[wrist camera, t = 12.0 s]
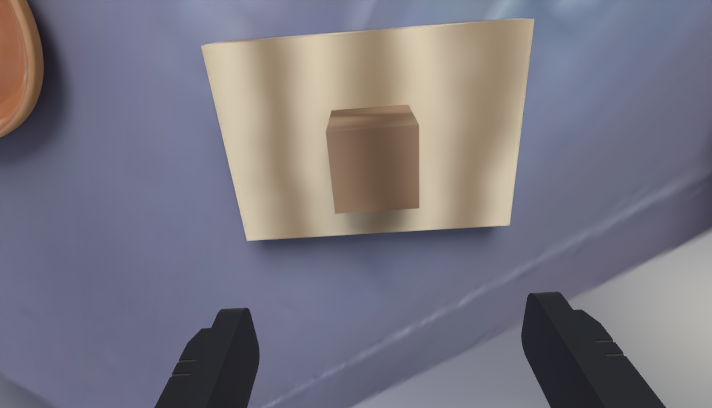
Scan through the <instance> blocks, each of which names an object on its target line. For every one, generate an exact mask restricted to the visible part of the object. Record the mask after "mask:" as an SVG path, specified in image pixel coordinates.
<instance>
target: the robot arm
mask: <svg viewBox="0 0 712 408" xmlns="http://www.w3.org/2000/svg"><path fill="white" fill-rule="evenodd" d="M521 338H522V345H523V350H524V353H525V355H526V358H527V360H528V362H529V364H530V366H531V368H532V370H533V372H534V374H535V376H536V378H537V380H538V382H539V384H540V386H541V388H542V390H543V393H544V395H545V397H546V399H547V401H548V403H549V405H550V407H551V408H666V407H665V406H664V405H663V403H662V402H661V401H660V399H659V398H658V397H657V396H656V394H655V393H654V392H653V390H652V389H651V388H650V387H649V385H648V384H647V383H646V381H645V380H644V379H643V378H642V377H641V375H640V374H639V372H638V371H637V370H636V369H635V367H634V366H633V365H632V363H631V362H630V361H629V360H628V358H627V357H626V356H624V355H623V352H622V350H621V349H620V348H619V347H618V345H617V344H616V343H614V342H613V339H612V338H611V336H610V335H609V334H608V333H607V331H606V330H605V329H604V327H603V326H602V325H601V323H599V322H598V321H596V320H595V319H594V318H592V317H591V316H590V315H588V314H587V313H586V312H584V311H583V310H573V309H572V308H571V307H570V305H569V304H568V302H567V301H566V299H565V298H564V297H563V295H562V294H561V293H559V292H544V293H530V294H529V295H528V297H527V302H526V309H525V315H524V321H523V327H522V335H521ZM258 365H259V345H258V341H257V337H256V333H255V329H254V325H253V321H252V317H251V314H250V311H249V309H248V308H233V309H221V310H220V311H219V312H218V314H217V316H216V319H215V321H214V323H213V325H212V327H211V328H205V329H201V330H200V331H199V332H198V333H197V334H196V335H195V336H194V337H193V338H192V339H191V340H190V341H189V342H188V343H187V345H186V347H185V349H184V351H183V353H182V355H181V357H180V359H179V363H177V365H176V367H175V369H174V371H173V373H172V377H170V379H169V380H168V382H167V384H166V386H165V388H164V390H163V392H162V394H161V396H160V398H159V400H158V402H157V404H156V406H155V408H247V406H248V402H249V399H250V395H251V391H252V388H253V384H254V380H255V377H256V373H257V370H258Z"/></svg>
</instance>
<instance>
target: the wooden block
mask: <svg viewBox="0 0 712 408" xmlns="http://www.w3.org/2000/svg"><path fill="white" fill-rule="evenodd" d="M533 27H534V19H522V18H513V19H500V20H488V21H476V22H463V23H451V24H438V25H426V26H413V27H401V28H388V29H376V30H363V31H351V32H338V33H326V34H313V35H301V36H289V37H276V38H264V39H251V40H239V41H226V42H216V43H211V44H207V45H202V46H201V48H202V52H203V56H204V60H205V64H206V69H207V73H208V77H209V81H210V86H211V90H212V94H213V98H214V103H215V107H216V111H217V115H218V120H219V124H220V128H221V132H222V137H223V141H224V145H225V149H226V154H227V158H228V162H229V166H230V171H231V175H232V179H233V183H234V188H235V192H236V196H237V200H238V204H239V209H240V213H241V217H242V221H243V226H244V230H245V234H246V238H247V241H252V240H269V239H286V238H303V237H320V236H336V235H353V234H370V233H387V232H404V231H420V230H437V229H454V228H471V227H488V226H505V225H509V224H510V216H511V208H512V200H513V192H514V183H515V175H516V167H517V159H518V150H519V142H520V134H521V126H522V118H523V109H524V101H525V93H526V85H527V76H528V68H529V60H530V52H531V43H532V35H533ZM396 105H409V107H410V109H411V111H412V112H413V114H414V116H415V118H416V120H417V122H418V124H419V208H416V209H400V210H385V211H369V212H354V213H338V214H335V209H334V200H333V192H332V183H331V174H330V165H329V156H328V148H327V139H326V129H327V125H328V122H329V118H330V114H331V111H332V110H343V109H356V108H370V107H383V106H396Z"/></svg>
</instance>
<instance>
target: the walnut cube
mask: <svg viewBox="0 0 712 408" xmlns="http://www.w3.org/2000/svg"><path fill="white" fill-rule="evenodd" d="M326 139H327V148H328V156H329V165H330V174H331V183H332V192H333V200H334V209H335V214H338V213H354V212H369V211H385V210H400V209H416V208H419V124H418V122H417V120H416V118H415V116H414V114H413V112H412V111H411V109H410V107H409V105H396V106H383V107H370V108H356V109H343V110H332V111H331V114H330V118H329V122H328V125H327V129H326Z"/></svg>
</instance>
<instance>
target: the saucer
mask: <svg viewBox="0 0 712 408" xmlns="http://www.w3.org/2000/svg"><path fill="white" fill-rule="evenodd" d="M43 73H44V62H43V51H42V45H41V40H40V36H39V32H38V29H37V26H36V22H35V19H34V17H33V14H32V11H31V9H30V7H29V5H28V2H27V0H0V138H1V137H3V136H5V135H6V134H8V133H10V132H11V131H13V130H15V129H16V128H17V127H19V126H20V125H21V124H22V123H23V122H24V121H25V120H26V119H27V117H28V116H29V115H30V113H31V112H32V110H33V109H34V107H35V105H36V103H37V101H38V98H39V95H40V92H41V88H42V82H43Z"/></svg>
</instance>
